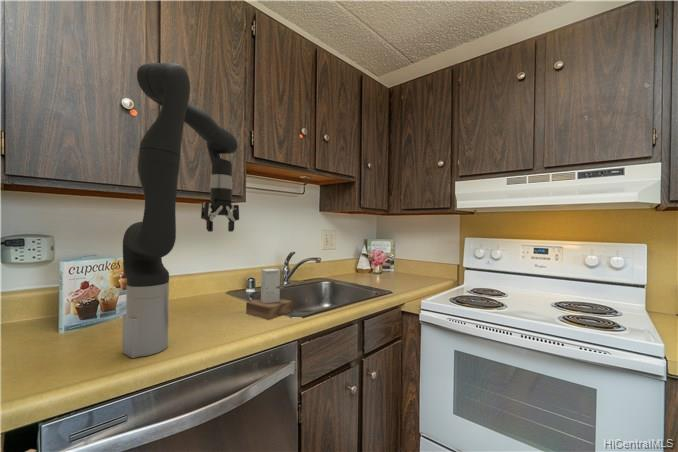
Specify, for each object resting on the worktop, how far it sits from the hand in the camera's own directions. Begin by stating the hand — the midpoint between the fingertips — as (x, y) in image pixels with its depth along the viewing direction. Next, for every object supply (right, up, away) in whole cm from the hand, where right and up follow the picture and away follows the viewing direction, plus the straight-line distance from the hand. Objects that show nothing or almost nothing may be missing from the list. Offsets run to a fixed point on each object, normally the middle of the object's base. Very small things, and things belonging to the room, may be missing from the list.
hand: (220, 231), depth 108 cm
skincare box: (+18, -27, +1) cm, 32 cm away
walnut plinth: (+18, -30, +1) cm, 35 cm away
